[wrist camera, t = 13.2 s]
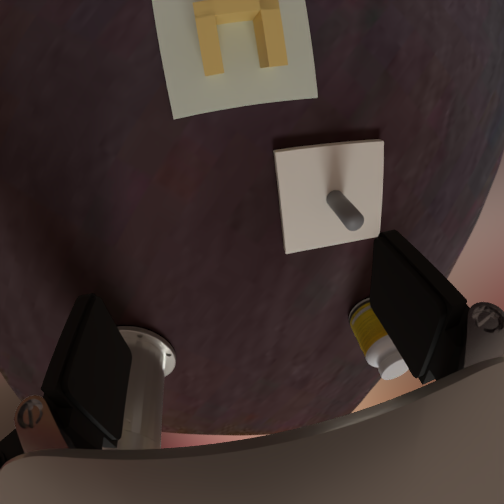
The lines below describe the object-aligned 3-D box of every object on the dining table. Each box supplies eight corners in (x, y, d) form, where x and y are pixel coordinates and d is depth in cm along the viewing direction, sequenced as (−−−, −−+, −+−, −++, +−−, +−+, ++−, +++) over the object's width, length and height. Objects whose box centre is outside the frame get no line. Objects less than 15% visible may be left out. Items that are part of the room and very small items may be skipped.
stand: (284, 249, 36) (297, 283, 31) (273, 150, 30) (287, 169, 24) (375, 232, 37) (400, 261, 31) (379, 139, 30) (411, 155, 25)
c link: (195, 14, 21) (192, 2, 17) (266, 5, 21) (277, -8, 17) (206, 76, 25) (204, 76, 21) (276, 66, 25) (288, 65, 21)
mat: (174, 119, 27) (173, 119, 27) (151, -10, 19) (150, -11, 19) (316, 97, 27) (317, 97, 27) (298, -29, 19) (299, -30, 19)
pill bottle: (339, 315, 44) (366, 377, 34) (373, 287, 42) (408, 347, 32) (360, 331, 47) (387, 388, 37) (391, 306, 45) (424, 361, 35)
